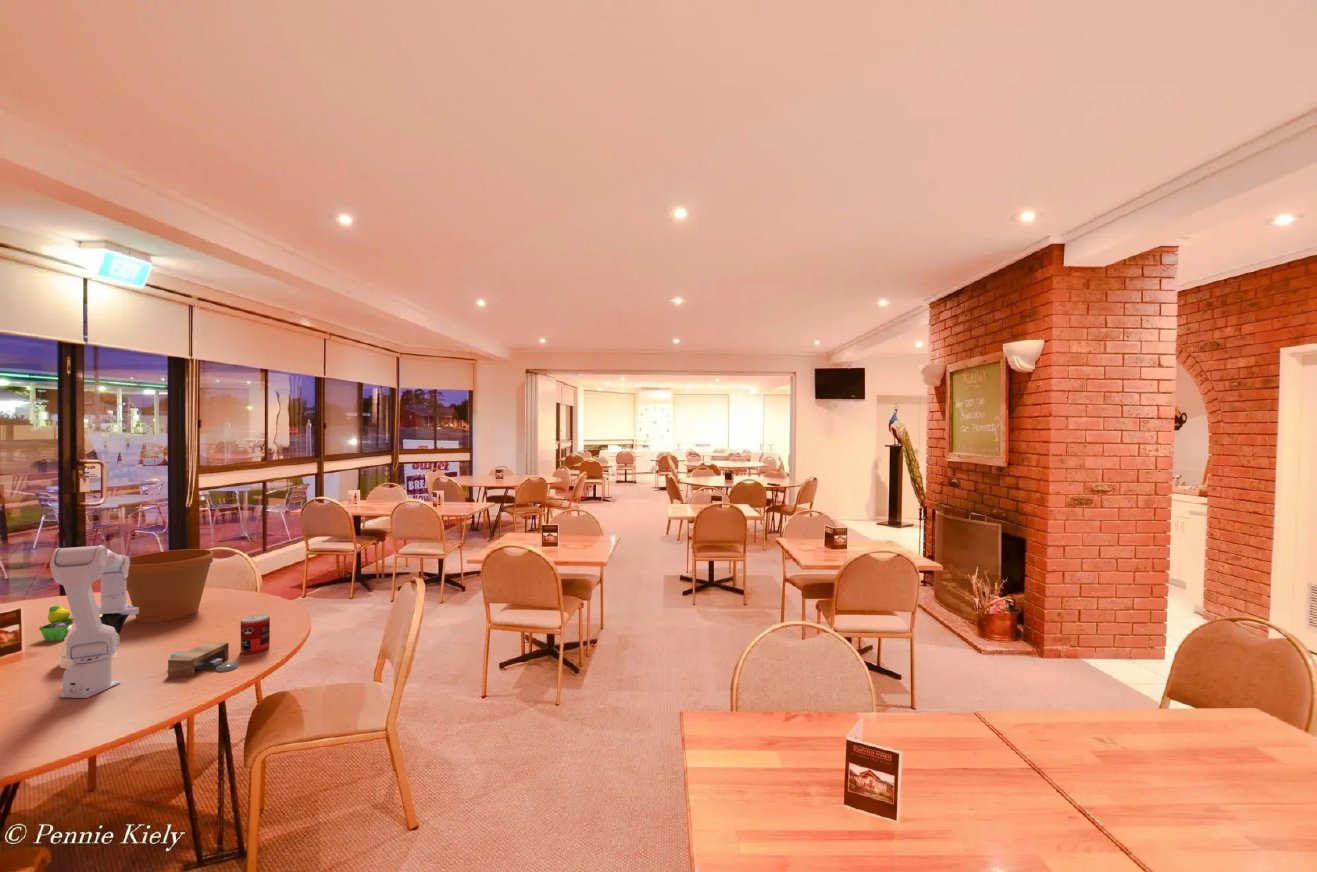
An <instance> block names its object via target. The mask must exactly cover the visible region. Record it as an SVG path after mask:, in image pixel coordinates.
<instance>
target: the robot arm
mask: <svg viewBox="0 0 1317 872" xmlns="http://www.w3.org/2000/svg"><path fill="white" fill-rule="evenodd" d="M129 558H130V556H129V555H125V554H118V553H116V552H115V551H111V549H110V548H107V547H106V545H104V544H99V545H91V546H89V545H88V546H76V547H57V548H55V550H53V552H52V553H51V555H50V561H49V567H50V571H51V575H52V577H53V579H54V582H55V583H57V584H59V585H61V586H63V589H64V591H65V595H66V599H67V602H68V604H69V605H68V606H69V609H70V613H71V615H72V617H73V619H74V622H75V625H76V629H77V630H75V631H74V632H72V633H71V634H70V636H69V637H68V639H67V642H66V648H67V649H66V655H67V658H68V659H69V660H73V663H75V664H74V665H73V666H71V667H69V668H68V669H66V668H65V670H64V672H63V675H62V694H61V695H60V698H74V699H80V698H81V699H86V698H90V697H92V696H94V695H96V694H99V693H101V692H103V691H106V690H108V689H110V688H112V687H115V686H116V685H118V684H121V681H119V680H112V677H113V676H112V674H113V673H112V672H113V671H112V659H111V655H113V654H115V652H117V653H118V650H119V647H120V644H121V643H120V642H121V637H120V633H121V631H122V629H123V626H124V623H125V622H126V619H127V618H128V617H129V616H135V615H136V614H139V607H133V606H132V605H130V604H129V603H127V587H126V578H127V577H128V570H129V564H130V560H129ZM97 580H100V606H98V605H97V601H96V598H95V594H94V591H93V588H92V584H93V583H94V582H96V581H97ZM99 614H101V615H102V617H100V616H99Z"/></svg>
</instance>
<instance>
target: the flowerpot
mask: <svg viewBox="0 0 1317 872" xmlns="http://www.w3.org/2000/svg"><path fill="white" fill-rule="evenodd" d="M213 558H214V552H213V551H212V550H210V549H204V548H203V549H202V548H195V549H194V548H191V549H189V548H188V549H176V550H163V551H157V552H150V553H143V554H139V555H134V556H129V560H130V564H129V570H128V577H127V578H126V591H127V593H128V596H129V599H130V602H131V603H130V604H131V606H132V607H139V614H136V615H134V616H135V618H136V621H137V622H138V621H139V623H141V622H144V624H150V623H151V622H155V623H161V622H160V621H164V622H169V620H170V621H175V620H179V619H178V618H180V619H182V618H181V617H184V618H186V617H190V616H192V615H194V614H197V613H198V611H199V608H200V605H201V601H202V597H203V593H204V589H205V585H206V582H207V581H206V580H207V577H208V575H209V574H208V573H209V571H210V566H211V564H212V563H213V561H214V559H213ZM193 613H194V614H193ZM189 615H190V616H189ZM174 619H175V620H174ZM147 622H148V623H147ZM151 624H152V623H151Z"/></svg>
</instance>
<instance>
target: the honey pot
mask: <svg viewBox="0 0 1317 872" xmlns="http://www.w3.org/2000/svg"><path fill="white" fill-rule="evenodd" d="M102 615H103V614H99V616H100V617H102ZM67 630H68V631H69V632H68V634H67V636H66V637H65V638H64V639H63V640H64V641H63V642H62V646H61V647H60V648H59V667H60V668H61V669H65V670H66V669H68V668H69V667H71V666H73V665H74V664H75V663H73V660H69V659H68V658H67V655H66V649H67V648H66V642H67V639H68V637H69V636H70V634H71V633H72V632H74V631H75V630H77V629H76V625H75V622H73V624H72V625H70V626H69V627H68V628H67ZM117 654H118V651H117V652H115V654H113V655H111V660H112V659H114V658H115V657H116V656H117Z"/></svg>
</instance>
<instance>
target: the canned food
mask: <svg viewBox="0 0 1317 872" xmlns="http://www.w3.org/2000/svg"><path fill="white" fill-rule="evenodd" d="M270 621H271V618H270V614H267V613H259V614H258V613H257V614H253V615H252V614H251V615H247V616H245V617H242V618H241V619H240V651H241V653H242V654H244V655H250V654H251V655H252V654H258V653H262V652H264V651H266V650H268V649H269V648H270V646H271V645H270V643H271V641H270V638H271V636H270V635H271V633H270V632H271V631H270V627H271V626H270V625H271V624H270V623H271V622H270Z"/></svg>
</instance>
